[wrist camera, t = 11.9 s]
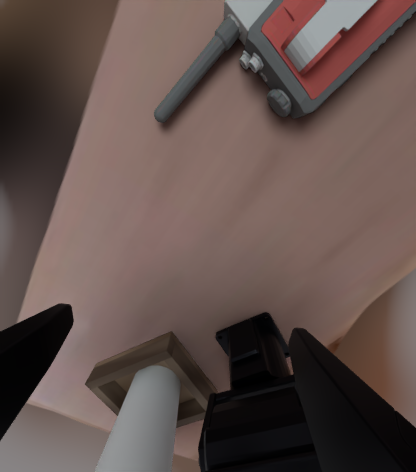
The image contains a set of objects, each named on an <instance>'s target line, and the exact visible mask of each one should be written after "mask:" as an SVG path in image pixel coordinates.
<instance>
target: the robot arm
mask: <svg viewBox="0 0 416 472" xmlns="http://www.w3.org/2000/svg"><path fill="white" fill-rule="evenodd" d="M265 317H268V318H265ZM73 322H74V319H73V313H72V307H71V305H69V304H62V303H61V304H57V305H55V306H53V307H51V308H49V309H46V310H44V311H42V312H40V313H38V314H36V315H34V316H32V317H30V318H28V319H25V320H23V321H21V322H19V323H17V324H15V325H13V326H11V327H9V328H7V329H5V330H3V331H0V440H1V439H2V437H3V436H4V434H5V433H6V432H7V430H8V428H9V427H10V426H11V424H12V423H13V421H14V420H15V418H16V417H17V415H18V414H19V412H20V411H21V409H22V408H23V406H24V405H25V403H26V402H27V400H28V399H29V397H30V396H31V394H32V393H33V391H34V390H35V388H36V387H37V385H38V384H39V382H40V381H41V379H42V378H43V376H44V375H45V373H46V372H47V370H48V369H49V367H50V366H51V364H52V362H53V361H54V359H55V357H56V355H57V354H58V352H59V350H60V348H61V346H62V344H63V343H64V341H65V339H66V337H67V335H68V333H69V332H70V330H71V328H72V326H73ZM216 340H217V341H218V342H219V344H220V345H221V347H222V348H223V350H224V351H225V353H226V354H227V355H228V357H229V370H230V387H231V390H229V391H225V392H221V393H217V394H216V393H212V394H210V396H209V400H208V404H207V409H206V414H205V418H204V423H203V427H202V432H201V437H200V441H199V446H198V452H199V466H200V469H201V472H416V428H415V427H414V426H413V425H412V424H411V423H410V422H408V421H407V420H406V419H405V418H404V417H403V416H402V415H401V414H400V413H399V412H397V411H395V410H394V408H393V407H392V406H391V405H389V404H388V403H387V402H386V401H385V400H384V399H382V397H380V396H379V395H378V394H377V393H376V392H375V391H374V390H373V389H371V388H370V387H369V386H368V385H367V384H366V383H365V382H364V381H363V380H361V379H360V378H359V377H358V376H357V375H356V374H355V373H354V372H353V371H351V370H350V369H349V368H348V367H347V366H346V365H345V364H344V363H342V362H341V361H340V360H339V359H338V358H337V357H336V356H335V355H334V354H332V353H331V352H330V351H329V350H328V349H327V348H326V347H325V346H323V345H322V344H321V343H320V342H319V341H318V340H317V339H316V338H315V337H313V336H312V335H311V334H310V333H309V332H308V331H307V330H305V329H303V328H294V329H293V331H292V334H291V337H290V340H289V344H288V345H287V344H286V342H285V340H284V338H283V336H282V335H281V333H280V331H279V329H278V328H277V326H276V324H275V322H274V320H273V319H272V317H271V315H270V314H269V313H266V312H265V313H262V314H260V315H257V316H255V317H252V318H250V319H248V320H245V321H243V322H240V323H238V324H235V325H233V326H230V327H228V328H225V329H223V330H221V331H218V332H217V333H216ZM286 352H287V353H286ZM287 357H290V358H291V363H292V368H293V372H294V374H293V375H291V373H290V370H289V367H288V364H287V361H286V358H287Z"/></svg>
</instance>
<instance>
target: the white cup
mask: <svg viewBox="0 0 416 472" xmlns="http://www.w3.org/2000/svg"><path fill="white" fill-rule="evenodd" d="M180 387H181V383H180V379H179V378H178V377H177V376H176V375H175V373H174V372H173V371H172V370H170V369H168V368H166V367H162V366H158V365H155V366H149V367H146V368H144V369H141V370H139V371H138V372H137V373H136V374H135V376H134V379H133V381H132V383H131V386H130V388H129V391H128V393H127V395H126V398H125V400H124V402H123V405H122V407H121V410H120V412H119V414H118V417H117V419H116V421H115V424H114V426H113V429H112V431H111V433H110V436H109V438H108V440H107V443H106V445H105V448H104V450H103V452H102V455H101V457H100V459H99V462H98V464H97V467H96V469H95V471H94V472H171V469H172V460H173V451H174V442H175V433H176V424H177V414H178V405H179V396H180Z"/></svg>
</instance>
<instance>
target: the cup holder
mask: <svg viewBox="0 0 416 472" xmlns="http://www.w3.org/2000/svg"><path fill="white" fill-rule="evenodd" d="M155 365H158V366H162V367H166V368H168V369H170V370H172V371H173V372H174V373H175V375H176V376H177V377H178V378H179V379H180V383H181V387H180V396H179V405H178V414H177V424H176V428H177V427H180V426H183V425H186V424H190V423H193V422H196V421H199V420H202V419H204V418H205V414H206V409H207V404H208V400H209V396H210V394H212V393H216V394H217V393H218V391H217V390H216V389H215V387H214V386H213V385H212V384H211V382H210V381H209V380H208V378H207V377H206V376H205V374H204V373H203V372H202V370H201V369H200V368H199V367H198V365H197V364H196V363H195V361H194V360H193V359H192V357H191V356H190V355H189V354H188V352H187V351H186V350H185V348H184V347H183V346H182V344H181V343H180V342H179V340H178V339H177V338H176V337H175V335H174V334H173V333H172V331H171V332H169V333H167V334H164V335H162V336H160V337H157V338H155V339H153V340H150V341H148V342H146V343H143V344H141V345H139V346H136V347H134V348H132V349H129V350H127V351H125V352H122V353H120V354H118V355H115V356H113V357H111V358H108V359H106V360H104V361H101V362H99V363H97V364H96V365H95V367H94V369H93V371H92V372H91V374H90V376H89V378H88V379H87V381H86V383H85V385H86V386H87V387H88V388H89V389H90V390H91V391H92V392H93V393H94V394H95V395H96V396H97V397H98V398H99V399H101V400H102V401H103V402H104V403H105V404H106V405H107V406H108V407H109V408H110V409H111V410H112V411H113V412H114V413H115V414H116V415H117V416H118V414H119V412H120V410H121V407H122V405H123V402H124V400H125V398H126V395H127V393H128V391H129V388H130V386H131V383H132V381H133V379H134V376H135V374H136V373H137V372H138V371H139V370H141V369H144V368H146V367H149V366H155Z"/></svg>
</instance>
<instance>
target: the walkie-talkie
mask: <svg viewBox="0 0 416 472" xmlns="http://www.w3.org/2000/svg"><path fill="white" fill-rule="evenodd" d="M414 13H416V0H225V2H224V19H225V20H224V21H223V22H222V24H221V25H220V26H219V27H218V29H217V30H216V31H215V36H214V37H213V39H212V40H211V41H210V42H209V44H208V45H207V46H206V47H205V49H204V50H203V51H202V52H201V54H200V55H199V56H198V57H197V59H196V60H195V61H194V62H193V64H192V65H191V66H190V67H189V69H188V70H187V71H186V72H185V74H184V75H183V76H182V77H181V79H180V80H179V81H178V82H177V84H176V85H175V86H174V87H173V89H172V90H171V91H170V92H169V94H168V95H167V96H166V97H165V99H164V100H163V101H162V102H161V103H160V105H159V106H158V107H157V108H156V110H155V112H154V116H155V119H156V120H157V121H158V122H161V123H164V122H165V121H166V120H167V119H168V118H169V117H170V116H171V114H172V113H173V112H174V111H175V110H176V108H177V107H178V106H179V105H180V104H181V103H182V101H183V100H184V99H185V98H186V97H187V95H188V94H189V93H190V92H191V91H192V89H193V88H194V87H195V86H196V85H197V83H198V82H199V81H200V80H201V79H202V77H203V76H204V75H205V74H206V73H207V71H208V70H209V69H210V68H211V67H212V66H213V64H214V63H215V62H216V61H217V60H218V58H219V57H220V56H221V55H222V54H223V52H224V51H225V50H229V49H230V47H231V46H232V45H233V44H234V43H235V41H236V40H237V39H238V38H239V39H240V40H241V42H242V43H243V44H244V45H245V48H244V51H243V54H242V57H241V58H240V59H239V62H240V64H241V65H242V67H243V68H244V69H247V68H248V67H249V66H250V68H251V69H252V71H253V72H255V73H256V72H258V74H259V75H260V76H261V77H262V79H263V80H264V81H265V83H266V84H267V85H268V86H269V88H270V89H271V91H270V92H269V93H268V95H267V100H268V102H269V104H270V106H271V108H272V109H273V110H274V111H275V112H276V113H277V114H278V115H279V116H281V117H286V116H287V115H288V114H290V115H291V116H292V118H299V117H302V116H304V115H306V114H309V113H312V112H314V111H315V110H317V109H318V108H319V107H320V106H321V105H322V104H323V103H324V102H325V101H326V98H327V97H328V96H329V95H330V94H331V93H332V92H333V91H334V90H336V89H337V88H339V87H341V86H342V85H343V84H344V83H345V82H346V81H347V80H348V79H349V78H350V77H351V76H352V73H353V72H354V71H355V70H356V69H358V68H359V67H360V66H361V65H362V64H363V63H364V62H365V61H366V60H367V59H368V58H369V57H370V55H371V54H372V53H374V52H375V51H376V50H377V49H378V47H379V46H381V45H382V44H384V43H385V42H386V39H388V38H389V37H391V36H392V35H393V34H394V32H395V31H396V30H398V29H399V28H400V27H401V26H402V25H403V23H404V22H406V21H407V20H409V19H410V18H411V16H412V15H413V14H414Z"/></svg>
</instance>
